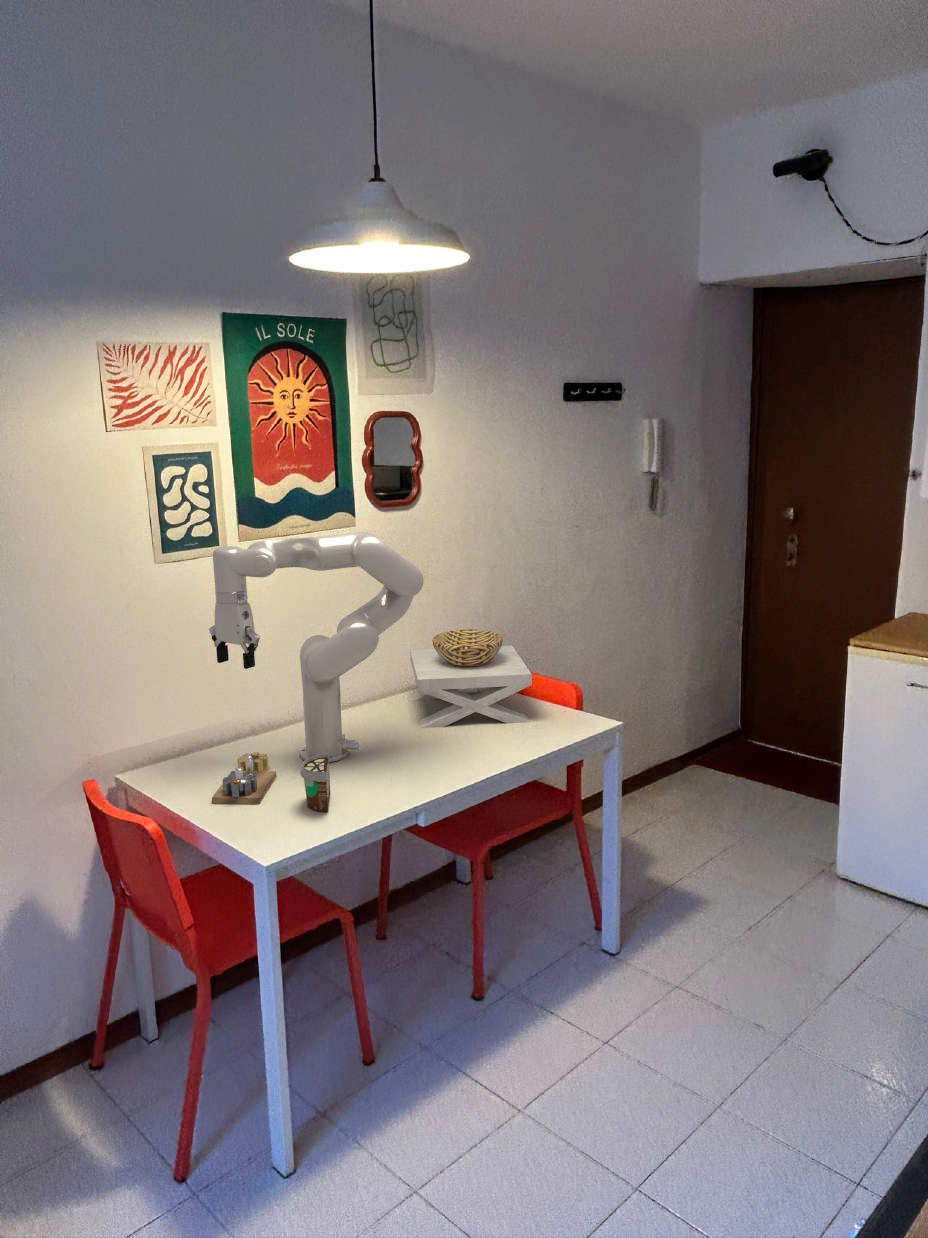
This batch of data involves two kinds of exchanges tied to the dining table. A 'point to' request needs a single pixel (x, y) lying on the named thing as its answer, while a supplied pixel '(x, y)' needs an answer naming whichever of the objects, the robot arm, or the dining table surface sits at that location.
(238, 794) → the gear
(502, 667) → the stand with wicker basket
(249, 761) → the peg
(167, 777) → the dining table surface
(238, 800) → the gear board
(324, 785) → the food container
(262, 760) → the wooden gear
